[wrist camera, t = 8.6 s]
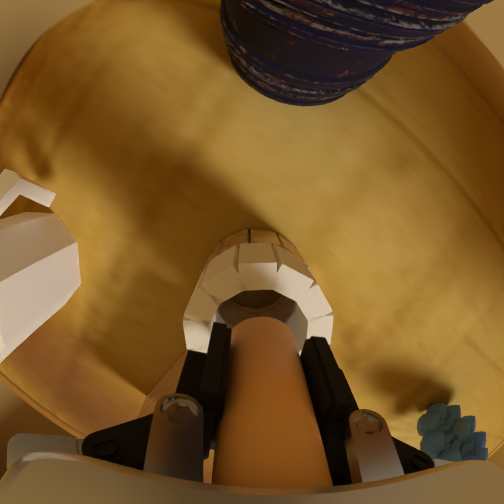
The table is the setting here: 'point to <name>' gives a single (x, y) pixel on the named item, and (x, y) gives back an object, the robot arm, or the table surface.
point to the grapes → (450, 435)
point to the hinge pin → (268, 414)
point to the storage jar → (327, 41)
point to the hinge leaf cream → (257, 278)
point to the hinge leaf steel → (229, 309)
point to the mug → (32, 263)
